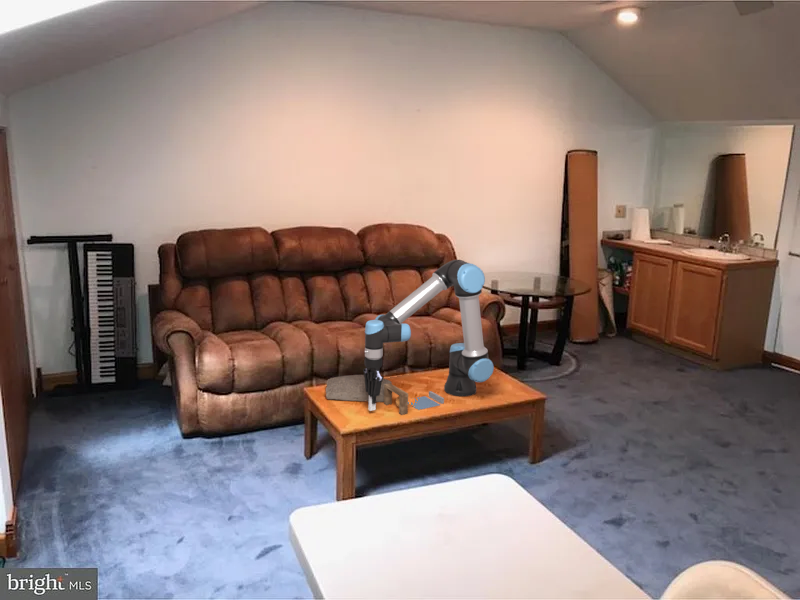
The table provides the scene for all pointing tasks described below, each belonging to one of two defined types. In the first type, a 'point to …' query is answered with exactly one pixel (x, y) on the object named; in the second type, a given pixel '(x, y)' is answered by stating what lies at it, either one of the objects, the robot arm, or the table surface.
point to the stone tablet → (351, 388)
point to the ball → (398, 401)
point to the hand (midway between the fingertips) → (372, 409)
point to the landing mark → (424, 403)
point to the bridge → (403, 395)
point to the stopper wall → (436, 397)
